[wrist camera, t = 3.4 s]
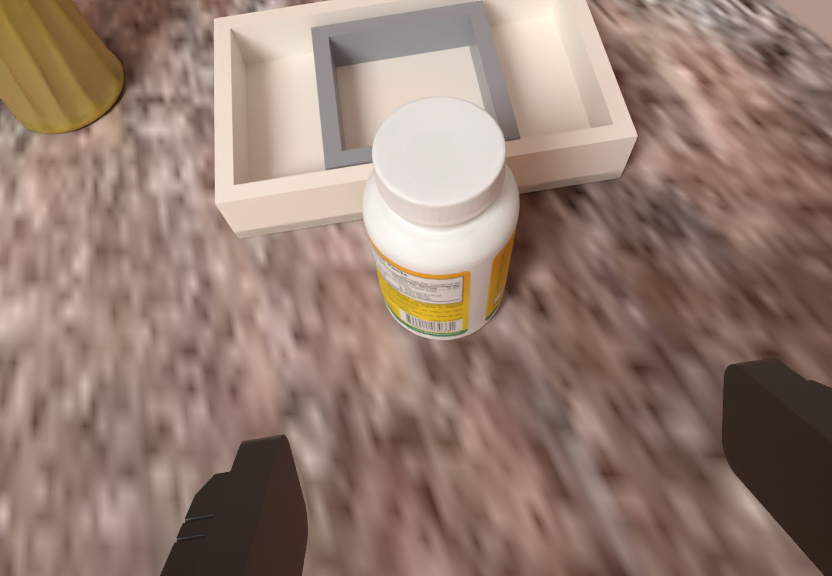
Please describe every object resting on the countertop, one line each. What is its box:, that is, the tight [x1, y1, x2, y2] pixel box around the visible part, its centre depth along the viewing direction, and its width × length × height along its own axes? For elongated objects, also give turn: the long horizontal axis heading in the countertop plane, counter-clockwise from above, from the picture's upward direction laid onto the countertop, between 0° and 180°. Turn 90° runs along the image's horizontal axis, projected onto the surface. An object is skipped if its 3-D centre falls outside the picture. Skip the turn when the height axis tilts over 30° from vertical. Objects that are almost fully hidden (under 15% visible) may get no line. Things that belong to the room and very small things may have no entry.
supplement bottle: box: [362, 96, 520, 340], centre depth 22 cm, size 5×5×10 cm
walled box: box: [214, 0, 638, 239], centre depth 29 cm, size 18×11×3 cm, turn 99°
